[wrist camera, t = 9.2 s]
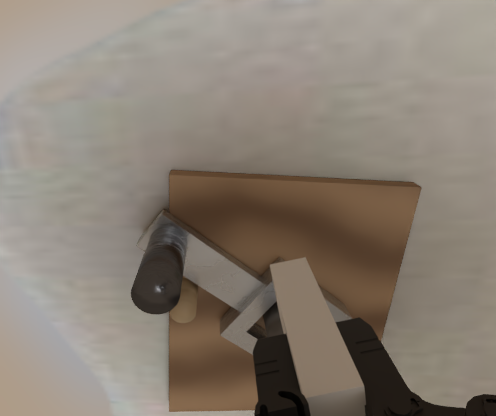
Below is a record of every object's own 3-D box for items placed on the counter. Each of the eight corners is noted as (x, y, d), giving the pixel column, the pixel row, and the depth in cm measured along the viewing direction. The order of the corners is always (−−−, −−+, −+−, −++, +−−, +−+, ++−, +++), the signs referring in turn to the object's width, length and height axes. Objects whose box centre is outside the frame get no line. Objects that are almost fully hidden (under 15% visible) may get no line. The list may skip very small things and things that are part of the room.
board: (358, 397, 36) (395, 484, 29) (170, 400, 34) (158, 494, 27) (413, 182, 28) (484, 227, 21) (171, 170, 26) (154, 214, 19)
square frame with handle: (344, 304, 30) (380, 371, 24) (285, 360, 32) (303, 437, 25) (181, 186, 25) (170, 230, 19) (122, 260, 27) (93, 323, 20)
